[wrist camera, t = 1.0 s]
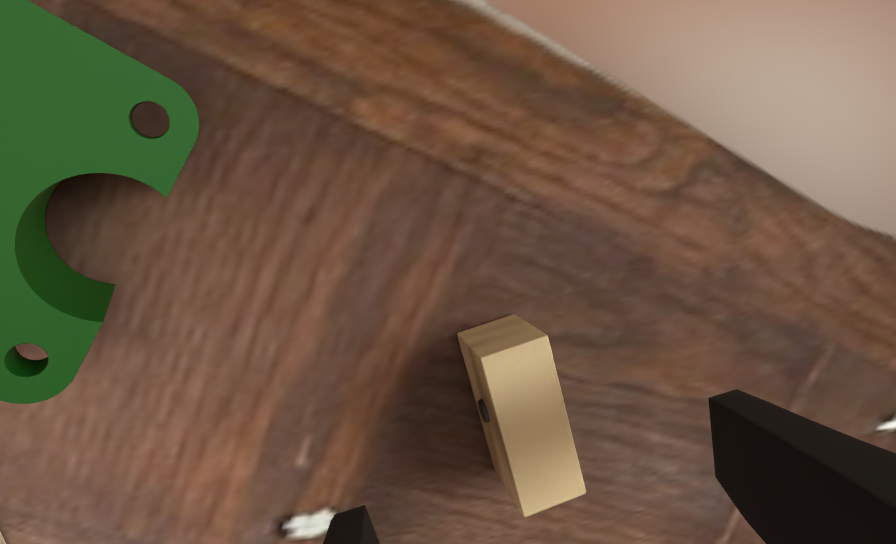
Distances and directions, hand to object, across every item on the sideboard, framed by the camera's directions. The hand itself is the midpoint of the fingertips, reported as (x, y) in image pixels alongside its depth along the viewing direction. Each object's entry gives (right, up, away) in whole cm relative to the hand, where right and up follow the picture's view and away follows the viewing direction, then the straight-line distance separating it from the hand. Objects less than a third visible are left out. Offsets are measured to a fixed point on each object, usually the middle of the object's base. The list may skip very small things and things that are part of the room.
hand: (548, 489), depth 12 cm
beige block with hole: (+1, -1, +15) cm, 15 cm away
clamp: (-16, +7, +10) cm, 20 cm away
